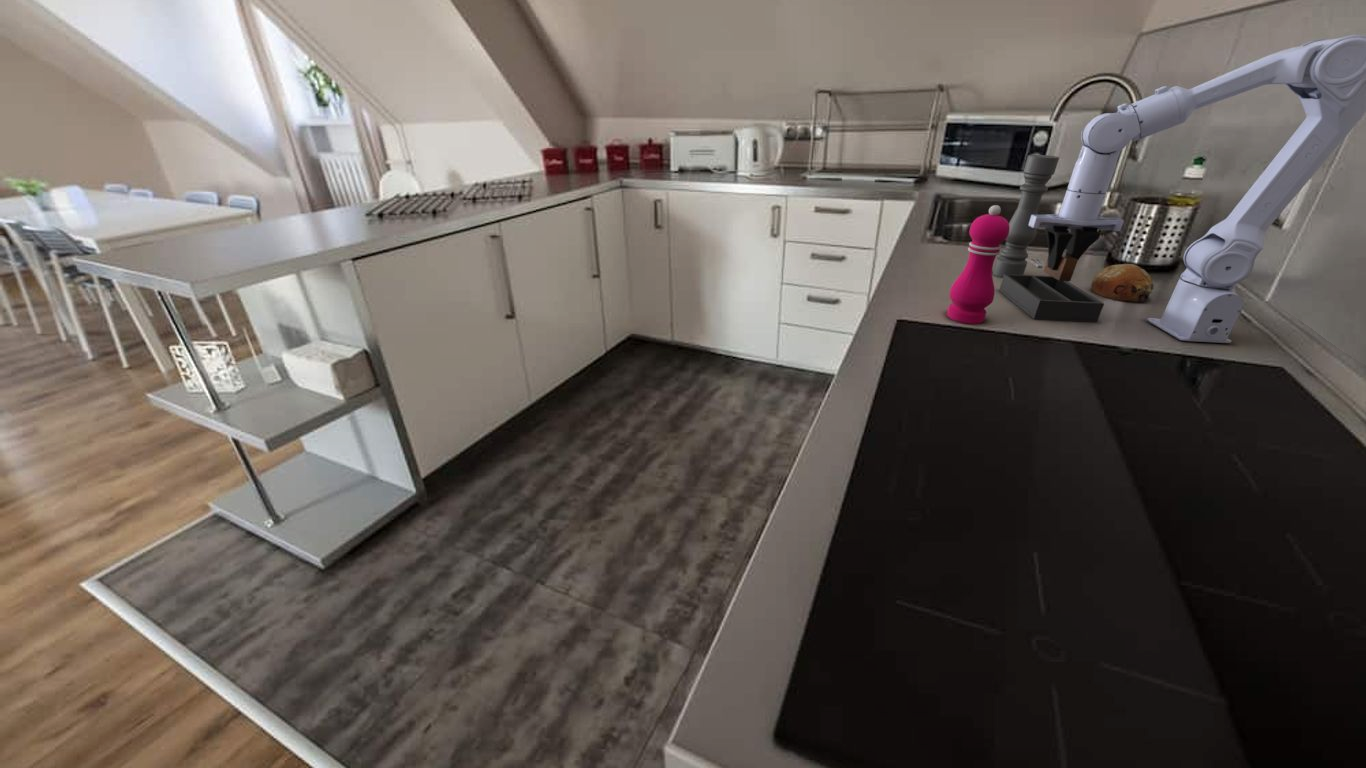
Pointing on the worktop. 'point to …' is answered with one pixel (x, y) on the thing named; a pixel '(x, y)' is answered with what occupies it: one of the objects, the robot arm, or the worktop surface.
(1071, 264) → the brown block
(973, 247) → the pepper mill
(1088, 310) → the organizer
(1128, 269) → the bread roll
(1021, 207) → the candle holder
